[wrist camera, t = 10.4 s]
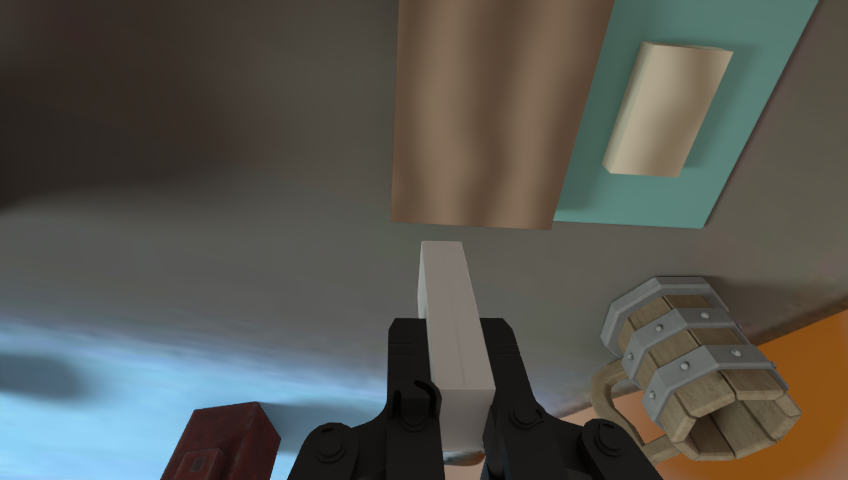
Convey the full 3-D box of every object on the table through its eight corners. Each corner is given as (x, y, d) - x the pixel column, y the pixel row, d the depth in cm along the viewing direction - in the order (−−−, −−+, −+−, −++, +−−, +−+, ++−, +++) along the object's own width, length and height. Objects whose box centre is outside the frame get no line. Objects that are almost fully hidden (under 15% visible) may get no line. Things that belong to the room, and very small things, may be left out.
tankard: (685, 255, 44) (795, 371, 31) (734, 317, 49) (845, 439, 36) (530, 351, 51) (569, 476, 39) (587, 396, 56) (637, 520, 44)
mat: (541, 217, 41) (542, 219, 40) (614, -60, 29) (617, -61, 29) (699, 225, 42) (702, 228, 41) (832, -39, 30) (838, -39, 30)
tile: (677, 177, 36) (666, 168, 38) (733, 51, 31) (716, 47, 32) (610, 173, 36) (601, 163, 37) (654, 45, 30) (641, 40, 32)
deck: (392, 199, 39) (390, 221, 36) (402, -63, 29) (401, -66, 25) (538, 208, 40) (550, 230, 37) (603, -44, 29) (627, -45, 26)
